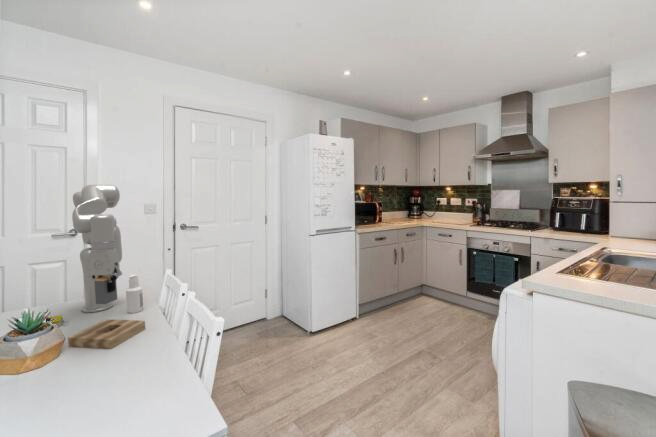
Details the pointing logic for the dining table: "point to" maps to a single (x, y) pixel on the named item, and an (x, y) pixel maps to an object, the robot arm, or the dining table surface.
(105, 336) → the socket block
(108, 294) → the key peg
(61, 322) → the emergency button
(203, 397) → the dining table surface
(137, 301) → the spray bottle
